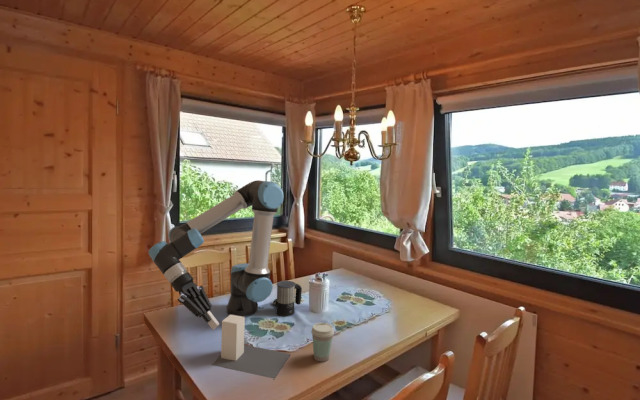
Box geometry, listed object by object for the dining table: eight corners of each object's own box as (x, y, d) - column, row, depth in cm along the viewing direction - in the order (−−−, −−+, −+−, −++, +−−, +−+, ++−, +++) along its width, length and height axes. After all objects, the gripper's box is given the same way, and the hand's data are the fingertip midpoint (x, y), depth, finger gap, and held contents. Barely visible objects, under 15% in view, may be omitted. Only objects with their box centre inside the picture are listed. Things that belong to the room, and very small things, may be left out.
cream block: (220, 357, 124) (221, 321, 123) (229, 349, 130) (229, 314, 129) (235, 360, 123) (236, 323, 121) (243, 352, 128) (244, 316, 127)
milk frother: (286, 318, 160) (288, 288, 159) (261, 310, 168) (262, 281, 167) (303, 308, 172) (304, 280, 171) (278, 301, 180) (279, 274, 179)
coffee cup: (331, 351, 133) (333, 322, 132) (333, 364, 125) (334, 332, 123) (310, 350, 133) (311, 321, 132) (310, 363, 124) (311, 332, 123)
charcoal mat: (211, 366, 120) (211, 364, 120) (233, 344, 135) (233, 342, 135) (274, 380, 114) (274, 378, 114) (290, 355, 129) (290, 353, 129)
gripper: (184, 278, 137) (219, 325, 134) (161, 288, 124) (199, 340, 121) (196, 267, 135) (232, 314, 132) (173, 276, 122) (213, 329, 119)
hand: (216, 327), depth 127 cm, fingers closed
